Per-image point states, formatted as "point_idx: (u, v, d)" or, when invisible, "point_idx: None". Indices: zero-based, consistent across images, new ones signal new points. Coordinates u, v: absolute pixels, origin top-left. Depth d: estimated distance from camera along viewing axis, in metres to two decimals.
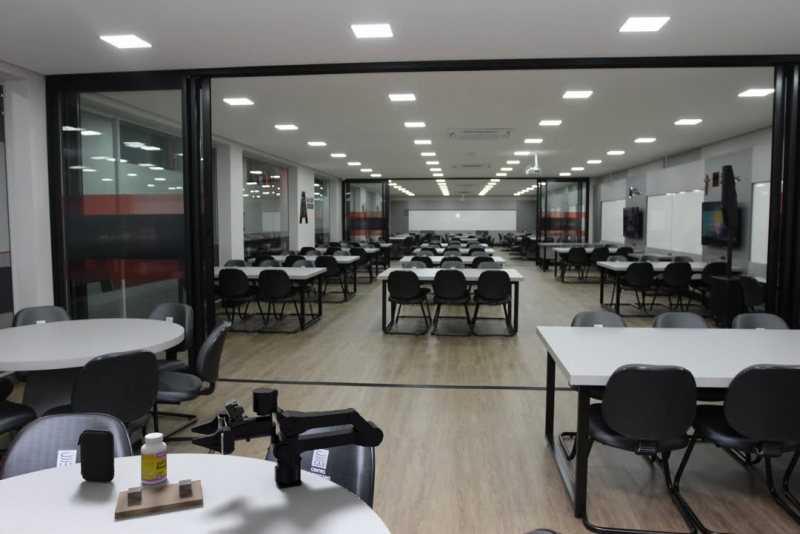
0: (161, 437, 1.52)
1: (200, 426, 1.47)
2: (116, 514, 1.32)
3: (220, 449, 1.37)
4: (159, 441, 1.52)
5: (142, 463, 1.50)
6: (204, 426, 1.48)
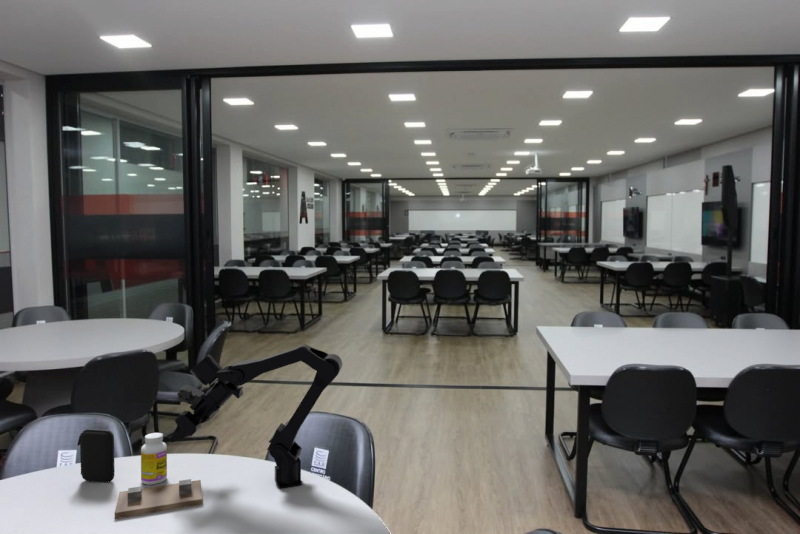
0: (161, 437, 1.52)
1: None
2: (116, 514, 1.32)
3: None
4: (159, 441, 1.52)
5: (142, 463, 1.50)
6: None
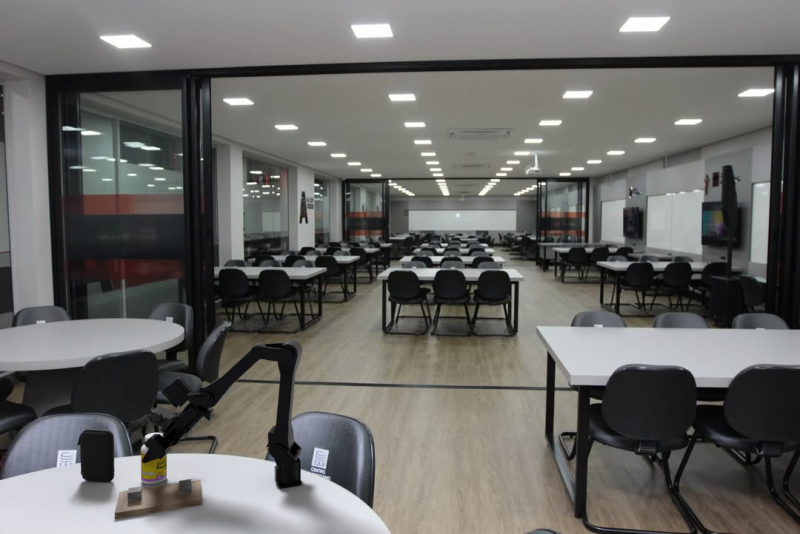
0: None
1: None
2: (116, 514, 1.32)
3: None
4: None
5: (142, 463, 1.50)
6: None
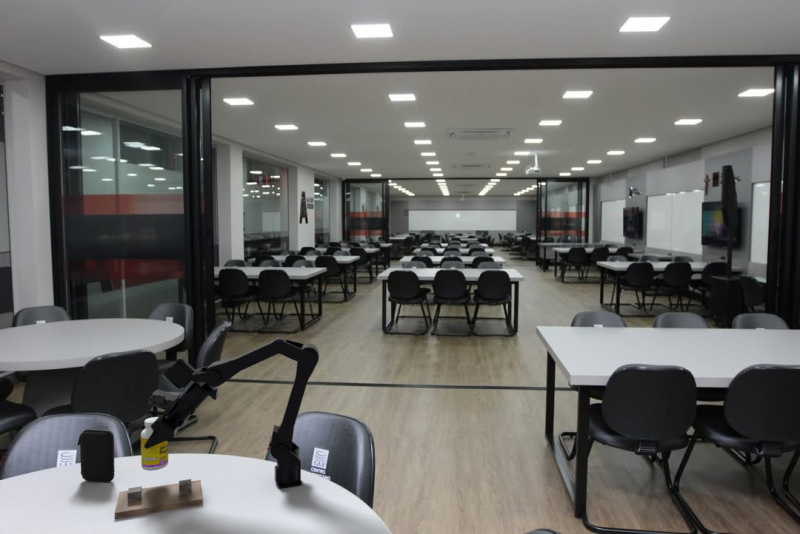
0: None
1: None
2: (116, 514, 1.32)
3: None
4: None
5: (143, 449, 1.44)
6: None
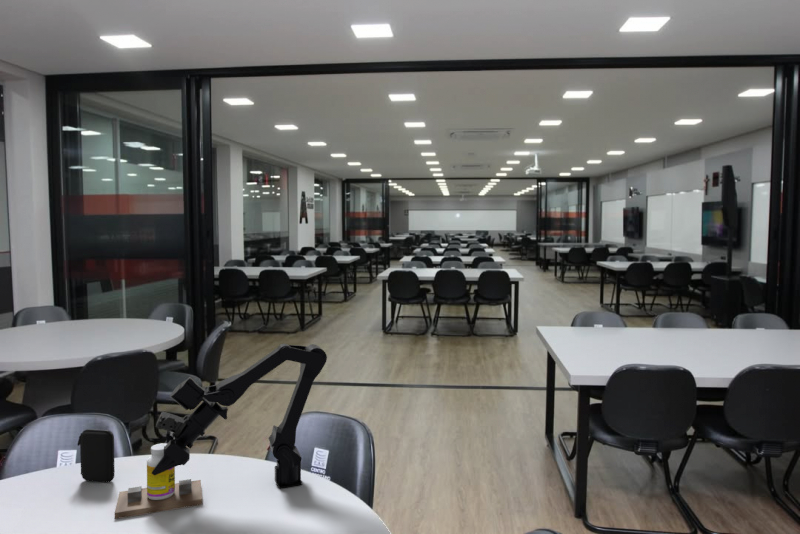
0: None
1: None
2: (116, 514, 1.32)
3: (178, 462, 1.35)
4: None
5: (151, 478, 1.37)
6: None
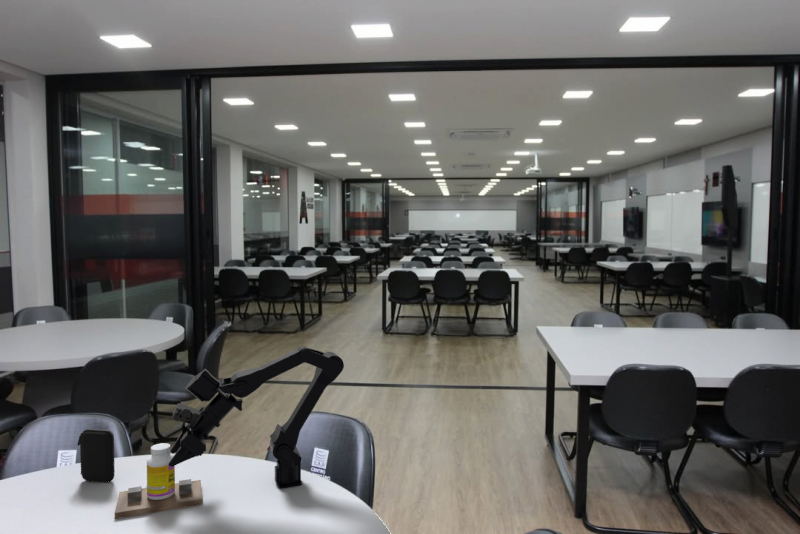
0: (170, 447, 1.41)
1: (176, 444, 1.46)
2: (116, 514, 1.32)
3: (194, 453, 1.36)
4: (168, 451, 1.40)
5: (151, 478, 1.37)
6: (179, 441, 1.46)
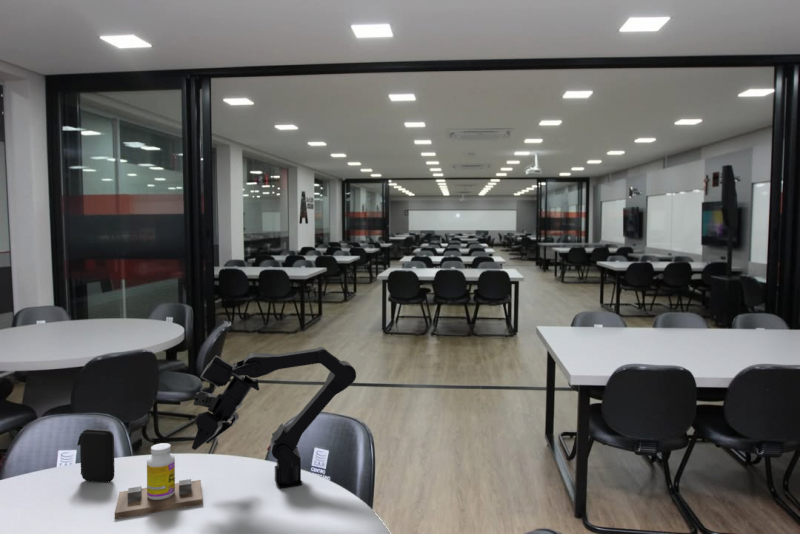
0: (170, 447, 1.41)
1: None
2: (116, 514, 1.32)
3: (209, 432, 1.38)
4: (169, 451, 1.40)
5: (151, 478, 1.37)
6: None
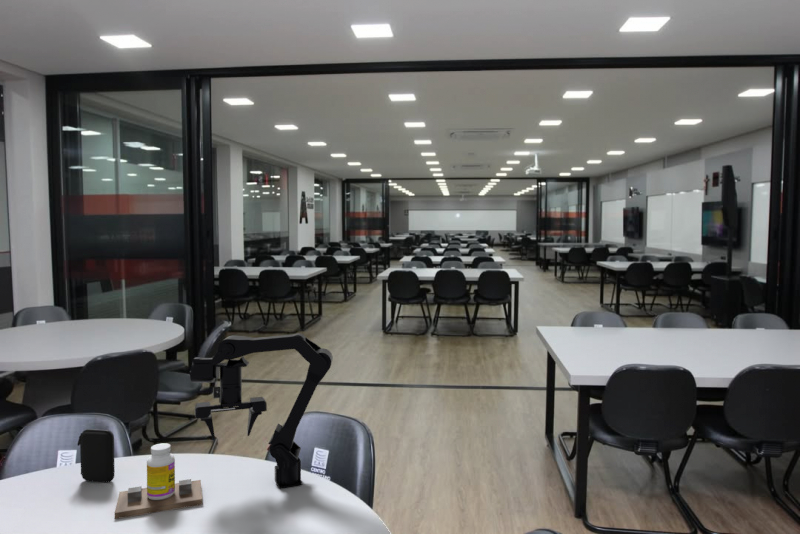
0: (170, 447, 1.41)
1: (247, 426, 1.53)
2: (116, 514, 1.32)
3: None
4: (168, 452, 1.40)
5: (151, 478, 1.37)
6: (248, 423, 1.53)
